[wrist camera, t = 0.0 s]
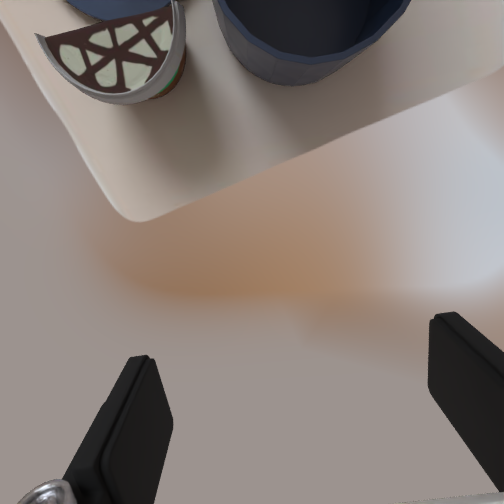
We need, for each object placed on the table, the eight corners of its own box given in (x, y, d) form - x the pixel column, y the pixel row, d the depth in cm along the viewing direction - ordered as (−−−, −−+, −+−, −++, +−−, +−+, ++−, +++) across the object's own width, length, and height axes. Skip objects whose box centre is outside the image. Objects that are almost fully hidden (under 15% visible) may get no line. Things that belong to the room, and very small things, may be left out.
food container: (106, 121, 37) (58, 117, 28) (86, 61, 35) (27, 34, 26) (211, 97, 37) (199, 84, 27) (197, 34, 35) (178, -4, 25)
